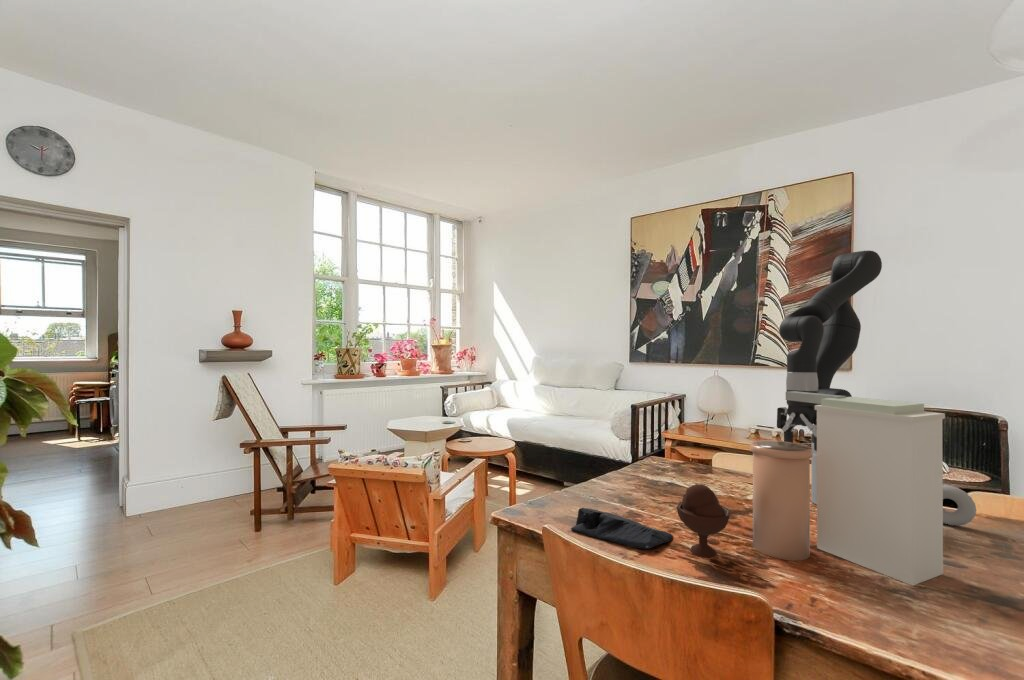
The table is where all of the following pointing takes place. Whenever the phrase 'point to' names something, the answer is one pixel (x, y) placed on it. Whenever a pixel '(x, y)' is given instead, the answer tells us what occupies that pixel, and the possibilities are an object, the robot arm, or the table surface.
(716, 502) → the ice cream bowl
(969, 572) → the table surface
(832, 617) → the table surface
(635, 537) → the black flat lumpy piece
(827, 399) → the cover
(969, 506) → the donut
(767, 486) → the terracotta pot
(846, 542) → the upright grey panel box
